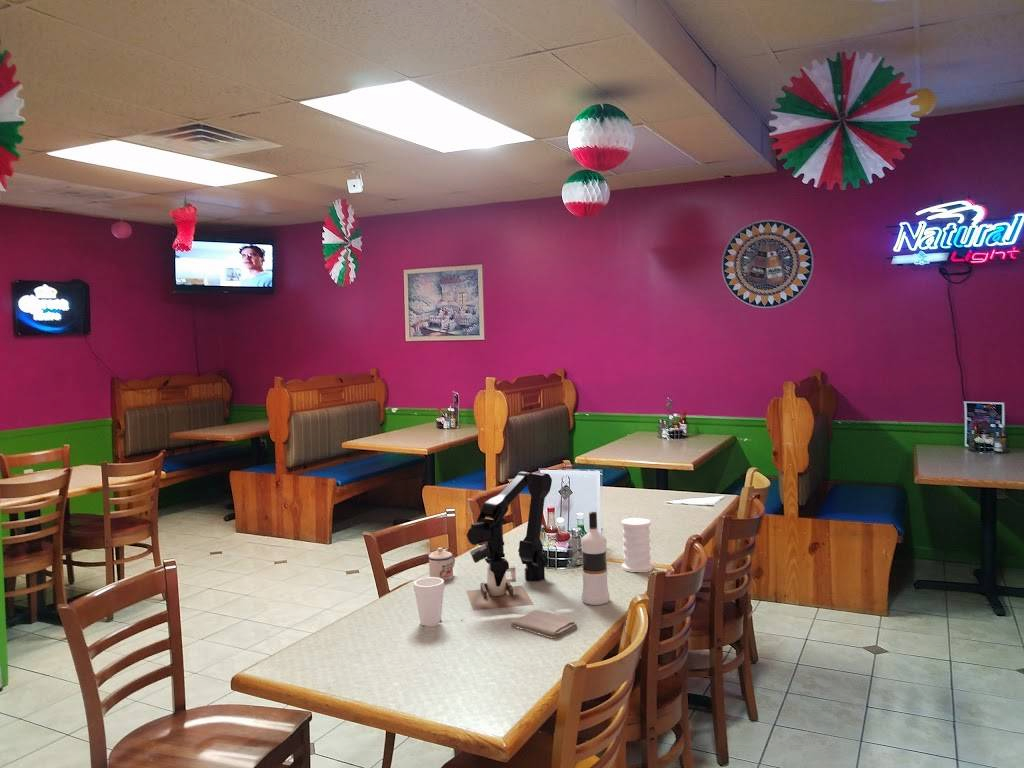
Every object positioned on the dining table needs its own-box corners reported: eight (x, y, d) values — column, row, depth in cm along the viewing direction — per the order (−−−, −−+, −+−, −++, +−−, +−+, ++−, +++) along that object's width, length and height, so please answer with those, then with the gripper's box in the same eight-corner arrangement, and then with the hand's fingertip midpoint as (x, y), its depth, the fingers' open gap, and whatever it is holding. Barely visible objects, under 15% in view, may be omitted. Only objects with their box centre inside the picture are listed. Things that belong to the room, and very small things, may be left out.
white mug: (489, 596, 257) (488, 570, 257) (486, 590, 263) (485, 565, 263) (517, 593, 259) (516, 567, 258) (514, 587, 265) (513, 562, 265)
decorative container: (643, 562, 294) (642, 516, 293) (658, 570, 283) (657, 522, 282) (616, 566, 290) (615, 519, 289) (630, 574, 279) (629, 526, 278)
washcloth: (556, 641, 222) (556, 631, 222) (509, 628, 233) (508, 618, 233) (579, 628, 231) (579, 618, 231) (533, 616, 242) (532, 607, 242)
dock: (522, 588, 269) (522, 578, 268) (533, 607, 249) (533, 596, 249) (466, 593, 265) (465, 583, 265) (473, 613, 245) (472, 602, 245)
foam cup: (450, 618, 242) (448, 578, 241) (438, 629, 233) (436, 587, 232) (423, 615, 245) (421, 576, 244) (410, 626, 236) (408, 585, 236)
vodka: (577, 599, 255) (574, 510, 254) (601, 594, 258) (599, 507, 257) (589, 607, 247) (586, 516, 245) (614, 603, 250) (611, 513, 248)
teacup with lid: (442, 584, 276) (440, 552, 276) (424, 580, 282) (422, 549, 281) (463, 575, 286) (462, 544, 285) (446, 571, 291) (444, 541, 291)
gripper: (468, 533, 268) (470, 577, 268) (474, 547, 249) (476, 594, 250) (499, 531, 269) (501, 574, 270) (508, 544, 251) (510, 591, 252)
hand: (496, 583), depth 261 cm, fingers closed on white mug, 6 cm apart
